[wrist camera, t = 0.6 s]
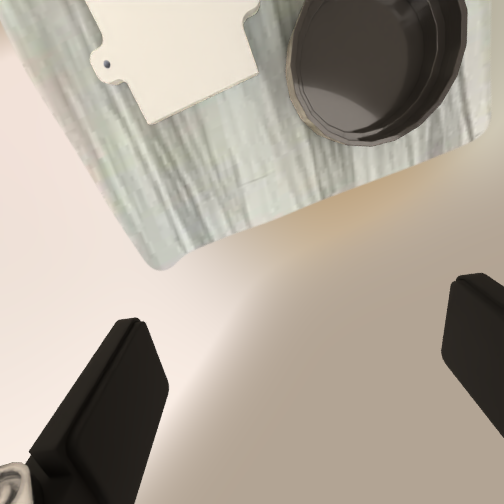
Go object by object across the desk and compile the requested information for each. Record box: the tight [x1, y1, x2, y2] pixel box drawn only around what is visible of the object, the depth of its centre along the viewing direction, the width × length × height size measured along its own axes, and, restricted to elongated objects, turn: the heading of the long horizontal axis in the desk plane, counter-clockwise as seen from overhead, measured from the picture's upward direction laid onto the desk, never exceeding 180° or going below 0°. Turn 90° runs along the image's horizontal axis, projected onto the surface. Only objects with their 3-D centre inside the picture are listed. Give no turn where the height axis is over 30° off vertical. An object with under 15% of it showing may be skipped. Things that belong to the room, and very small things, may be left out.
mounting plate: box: [85, 0, 260, 125], centre depth 29 cm, size 18×13×2 cm
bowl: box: [285, 0, 467, 147], centre depth 29 cm, size 15×15×6 cm
